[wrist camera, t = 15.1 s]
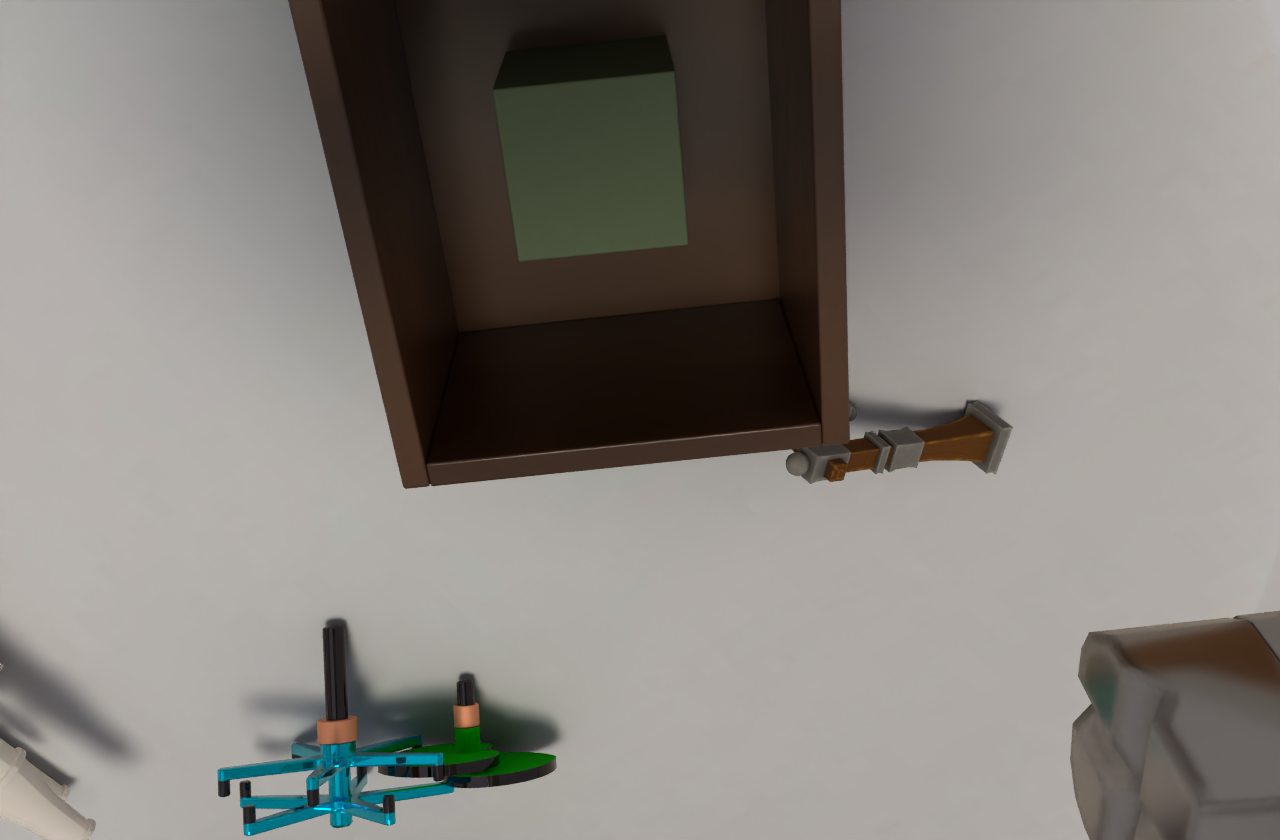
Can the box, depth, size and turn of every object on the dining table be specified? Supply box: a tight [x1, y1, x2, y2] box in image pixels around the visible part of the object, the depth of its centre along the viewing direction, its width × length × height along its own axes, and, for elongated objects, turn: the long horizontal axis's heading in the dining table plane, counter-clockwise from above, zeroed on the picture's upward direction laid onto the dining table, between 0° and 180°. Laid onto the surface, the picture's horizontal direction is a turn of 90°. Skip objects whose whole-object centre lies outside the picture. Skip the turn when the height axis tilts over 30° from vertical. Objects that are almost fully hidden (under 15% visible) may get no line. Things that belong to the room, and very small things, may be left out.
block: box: [492, 35, 689, 261], centre depth 32 cm, size 4×4×4 cm
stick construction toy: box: [218, 626, 557, 836], centre depth 43 cm, size 12×7×8 cm
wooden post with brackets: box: [786, 400, 1013, 484], centre depth 38 cm, size 2×8×4 cm, turn 81°
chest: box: [288, 0, 850, 489], centre depth 30 cm, size 15×11×9 cm
